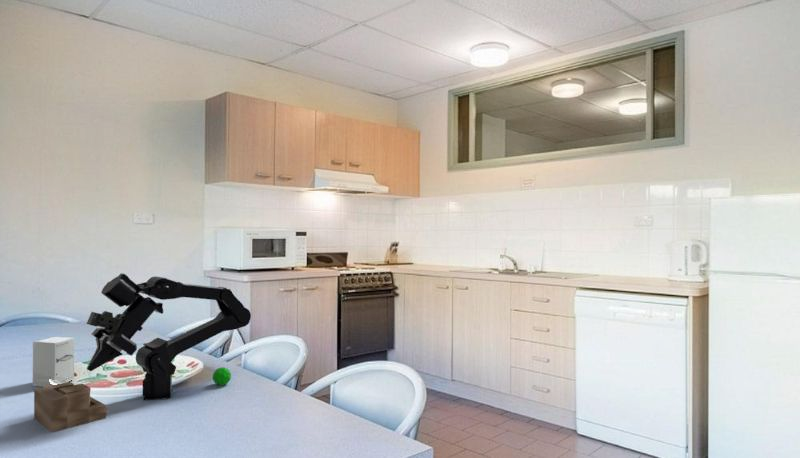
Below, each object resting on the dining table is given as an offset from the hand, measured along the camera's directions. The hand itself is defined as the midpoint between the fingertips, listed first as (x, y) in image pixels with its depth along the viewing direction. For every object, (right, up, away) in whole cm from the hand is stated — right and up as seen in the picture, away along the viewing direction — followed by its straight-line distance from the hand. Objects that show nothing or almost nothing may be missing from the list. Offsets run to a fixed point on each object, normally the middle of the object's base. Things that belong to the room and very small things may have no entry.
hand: (88, 370), depth 128 cm
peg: (-2, -10, -3) cm, 11 cm away
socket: (-2, -10, -3) cm, 11 cm away
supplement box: (-23, -10, +23) cm, 34 cm away
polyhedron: (+25, -11, +23) cm, 36 cm away
